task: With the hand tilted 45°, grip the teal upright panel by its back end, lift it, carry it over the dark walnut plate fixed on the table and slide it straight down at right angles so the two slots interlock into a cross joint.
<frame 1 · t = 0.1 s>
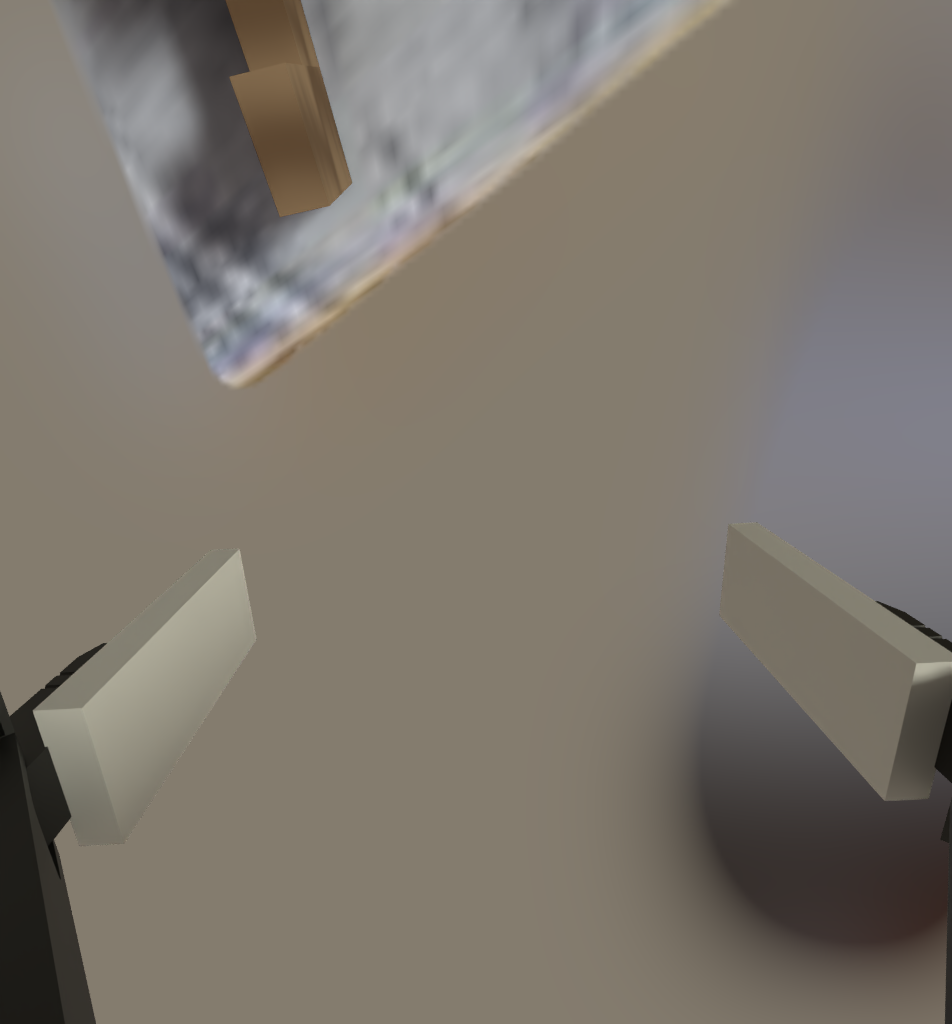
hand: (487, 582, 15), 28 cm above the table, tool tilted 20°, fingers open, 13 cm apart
walnut slotted plate: (278, 12, 29), on the table
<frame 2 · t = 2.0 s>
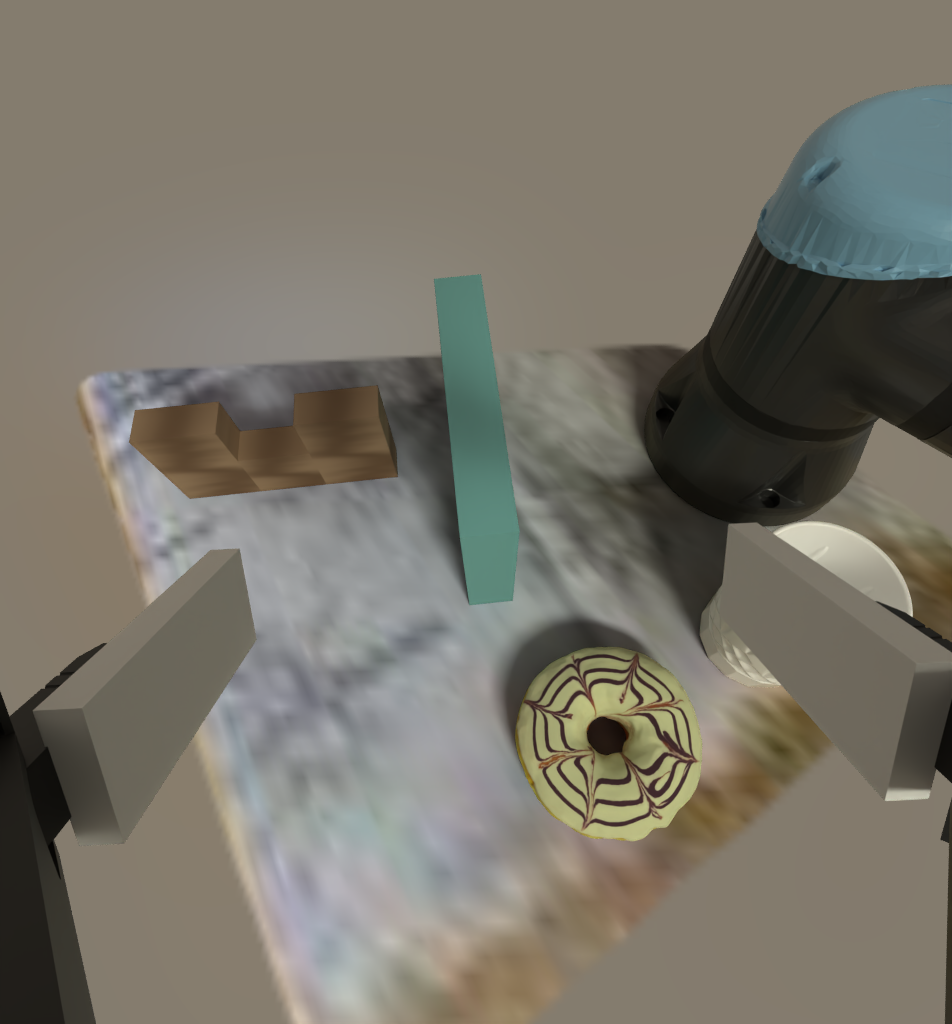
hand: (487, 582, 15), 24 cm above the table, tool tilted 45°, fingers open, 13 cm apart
white cup: (748, 637, 38), on the table
teal upright panel: (477, 488, 43), on the table
walnut slotted plate: (294, 473, 44), on the table
decorated donut: (601, 739, 36), on the table
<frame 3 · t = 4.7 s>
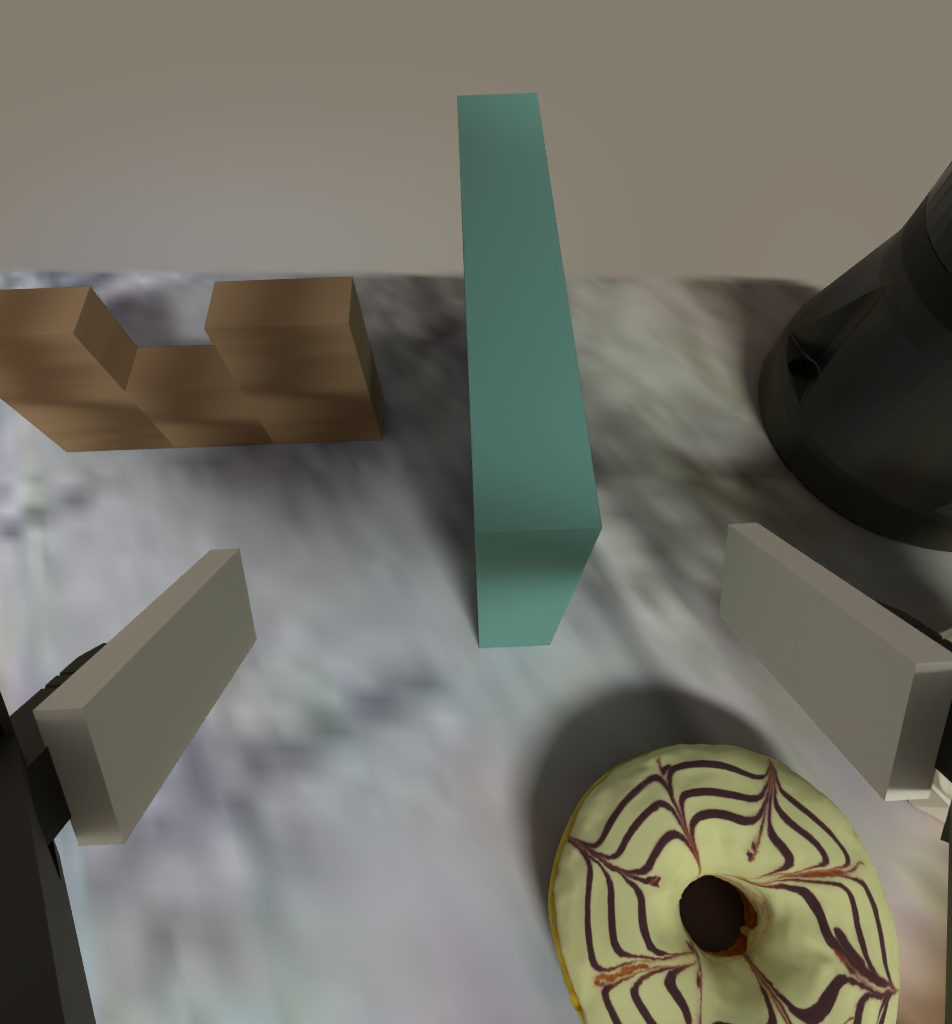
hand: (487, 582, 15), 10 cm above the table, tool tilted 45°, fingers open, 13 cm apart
white cup: (944, 736, 23), on the table
teal upright panel: (502, 464, 28), on the table
walnut slotted plate: (228, 425, 29), on the table
decorated donut: (695, 905, 20), on the table
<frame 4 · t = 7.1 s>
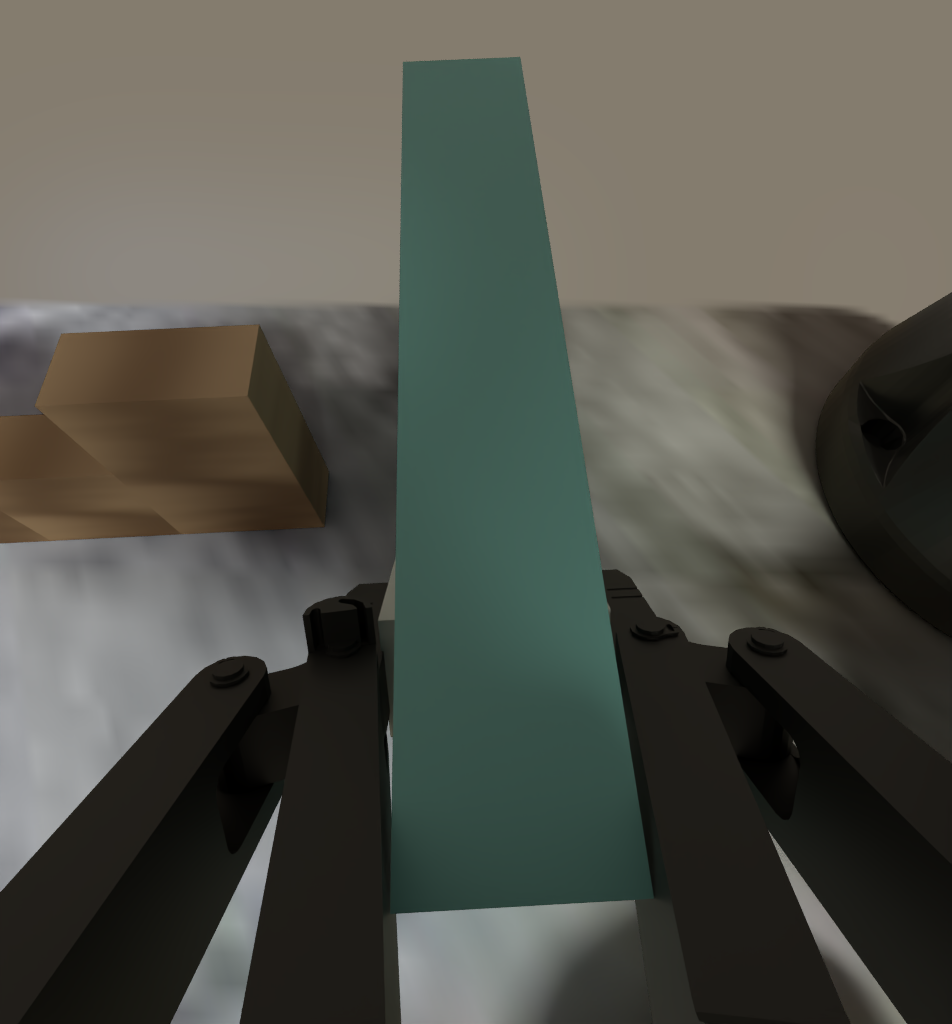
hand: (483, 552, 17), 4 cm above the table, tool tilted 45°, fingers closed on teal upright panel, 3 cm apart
teal upright panel: (482, 561, 21), on the table, touching gripper
walnut slotted plate: (123, 508, 22), on the table
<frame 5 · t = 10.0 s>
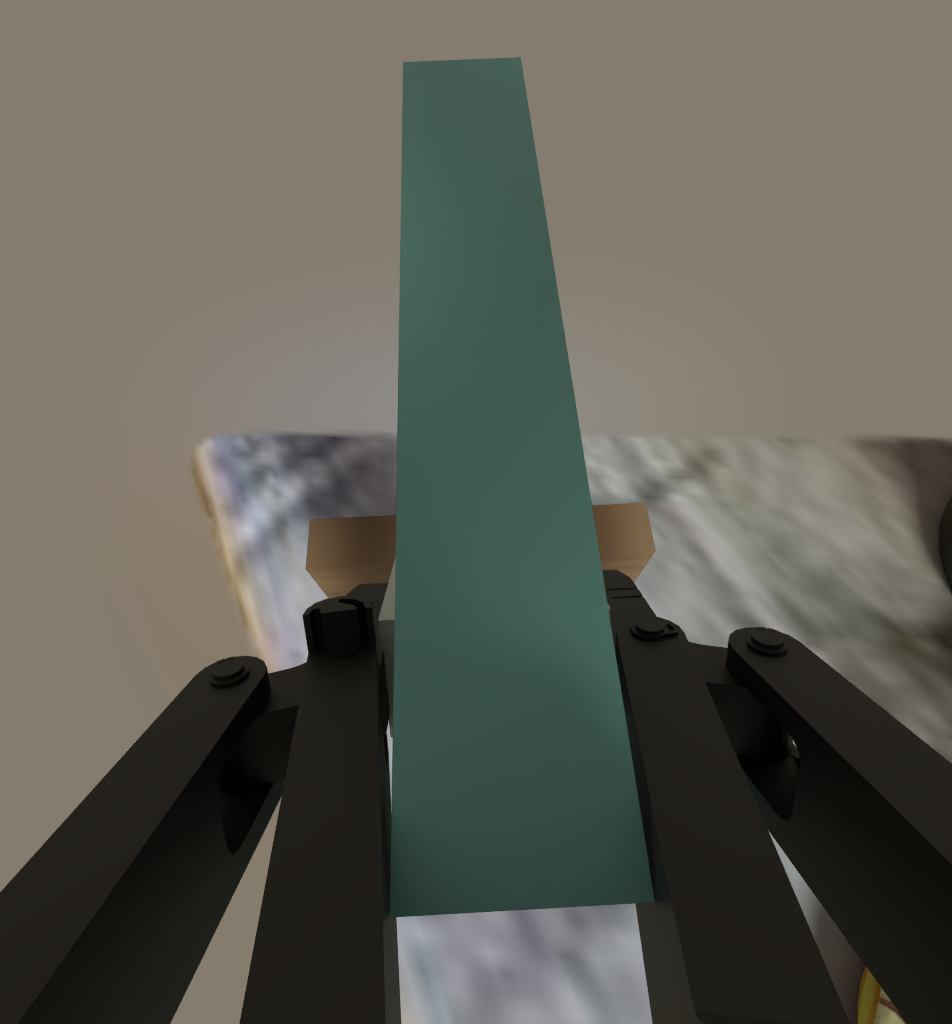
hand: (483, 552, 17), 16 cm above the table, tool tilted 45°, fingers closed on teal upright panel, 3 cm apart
teal upright panel: (482, 562, 21), point 12 cm above the table, touching gripper
walnut slotted plate: (480, 590, 34), on the table
when the fingers open (4 cm above the table, at t = 12.8 s): teal upright panel stays where it is, on the table.
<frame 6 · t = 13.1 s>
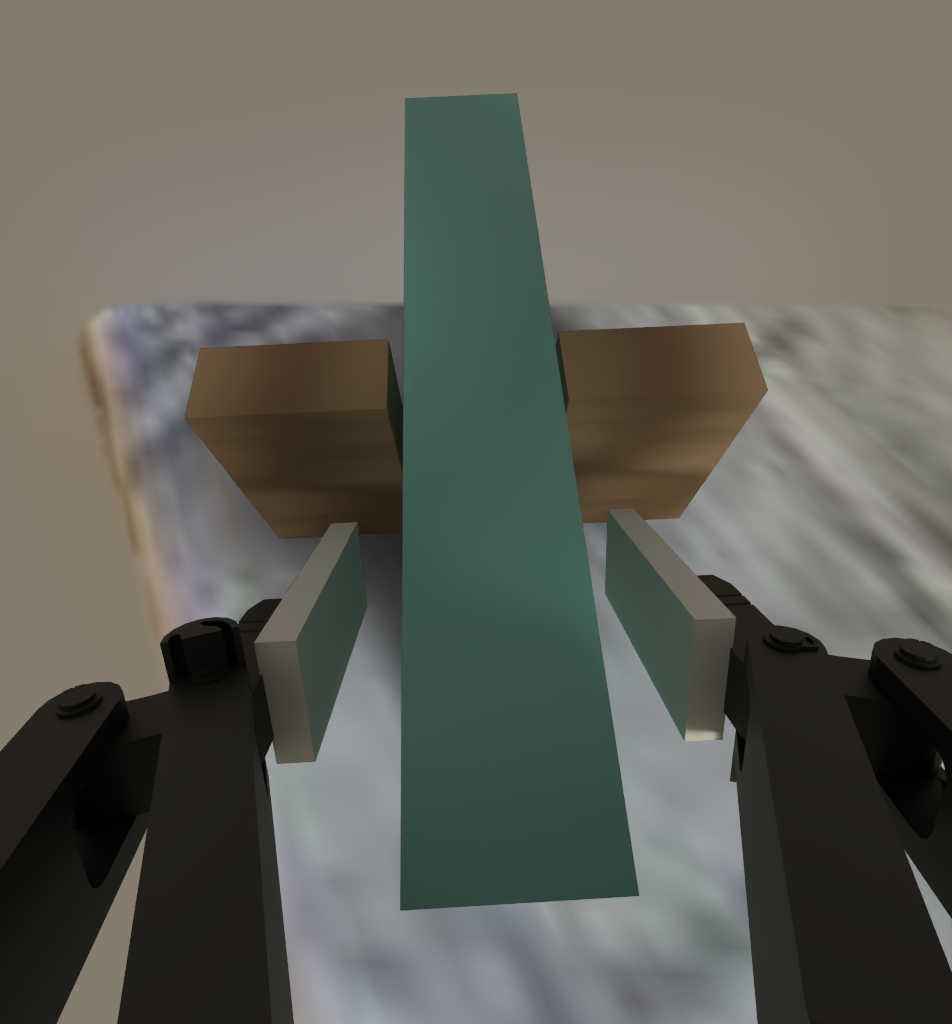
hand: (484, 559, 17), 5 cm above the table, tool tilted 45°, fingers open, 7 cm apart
teal upright panel: (482, 570, 22), on the table
walnut slotted plate: (478, 500, 23), on the table
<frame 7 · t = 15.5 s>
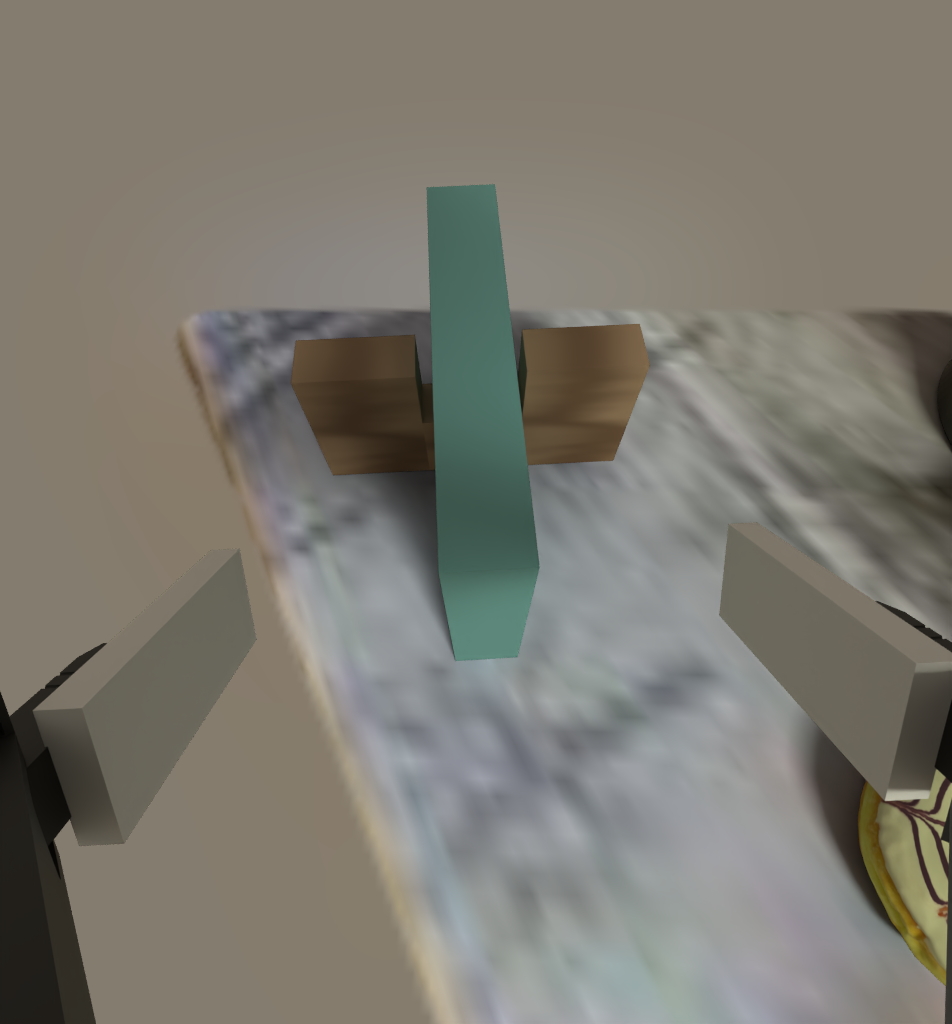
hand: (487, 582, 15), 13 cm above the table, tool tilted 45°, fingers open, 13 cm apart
teal upright panel: (475, 495, 32), on the table
walnut slotted plate: (472, 449, 33), on the table
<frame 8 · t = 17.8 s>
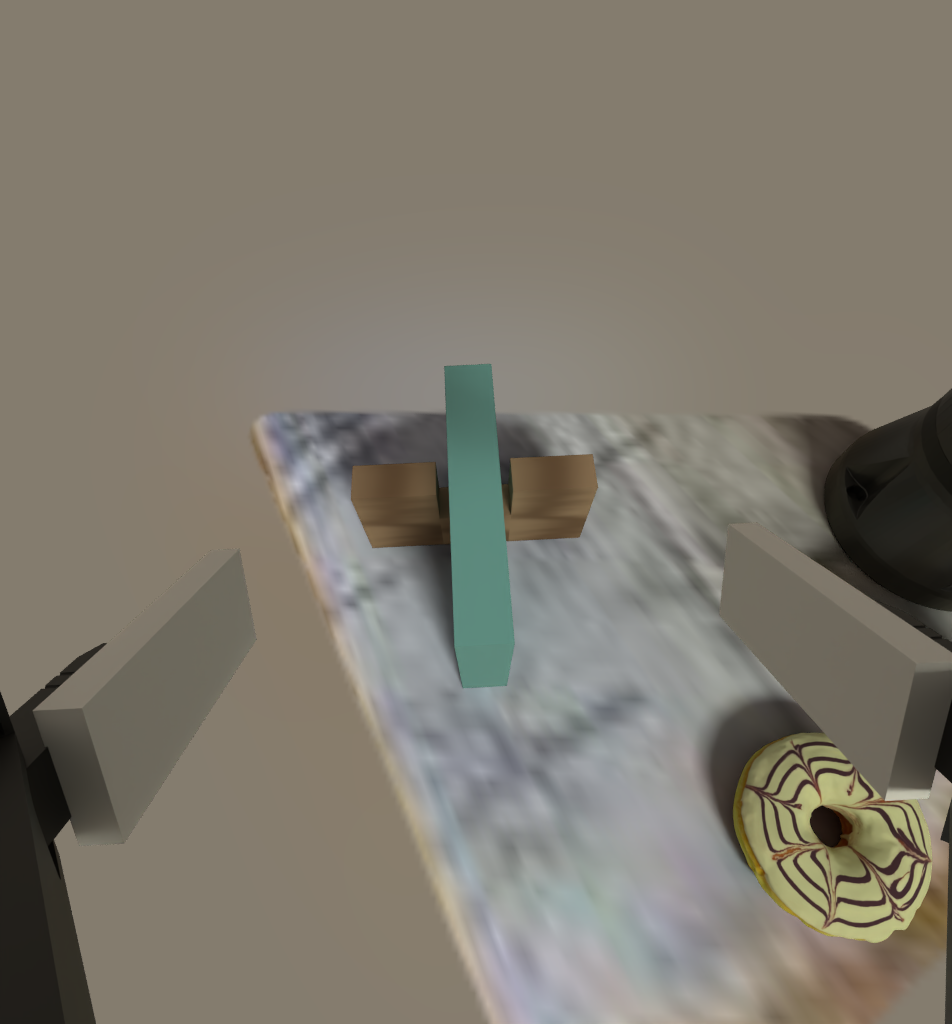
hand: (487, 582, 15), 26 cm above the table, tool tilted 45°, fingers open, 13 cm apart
teal upright panel: (477, 564, 43), on the table
walnut slotted plate: (475, 528, 44), on the table
decorated donut: (811, 826, 35), on the table
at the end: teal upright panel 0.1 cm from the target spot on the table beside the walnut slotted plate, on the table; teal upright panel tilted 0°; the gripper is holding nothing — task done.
